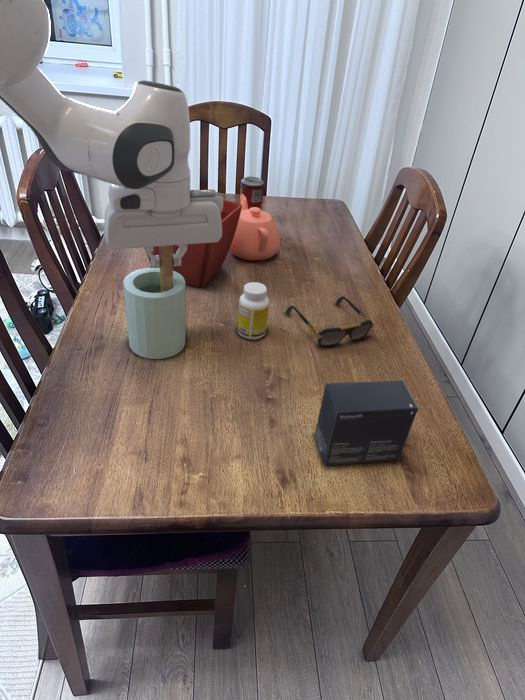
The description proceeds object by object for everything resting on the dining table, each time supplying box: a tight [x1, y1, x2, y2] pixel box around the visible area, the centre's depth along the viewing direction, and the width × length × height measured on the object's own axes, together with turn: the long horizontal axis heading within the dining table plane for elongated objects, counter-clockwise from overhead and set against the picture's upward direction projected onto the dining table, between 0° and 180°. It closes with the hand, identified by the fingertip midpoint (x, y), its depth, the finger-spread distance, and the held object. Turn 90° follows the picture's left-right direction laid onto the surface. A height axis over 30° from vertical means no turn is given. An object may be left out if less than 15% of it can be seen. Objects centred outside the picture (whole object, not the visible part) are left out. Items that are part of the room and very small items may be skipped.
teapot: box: [229, 194, 281, 261], centre depth 132 cm, size 22×15×12 cm
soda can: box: [239, 176, 265, 211], centre depth 150 cm, size 7×7×12 cm
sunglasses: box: [285, 296, 375, 348], centre depth 108 cm, size 14×15×5 cm
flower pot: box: [145, 199, 242, 288], centre depth 118 cm, size 19×19×17 cm
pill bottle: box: [237, 281, 270, 340], centre depth 101 cm, size 6×6×11 cm
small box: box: [314, 380, 419, 467], centre depth 78 cm, size 13×7×12 cm, turn 99°
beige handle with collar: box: [159, 245, 173, 292], centre depth 91 cm, size 4×4×16 cm
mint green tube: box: [122, 267, 187, 360], centre depth 95 cm, size 11×11×14 cm
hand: (166, 265), depth 89 cm, fingers closed on beige handle with collar, 2 cm apart
